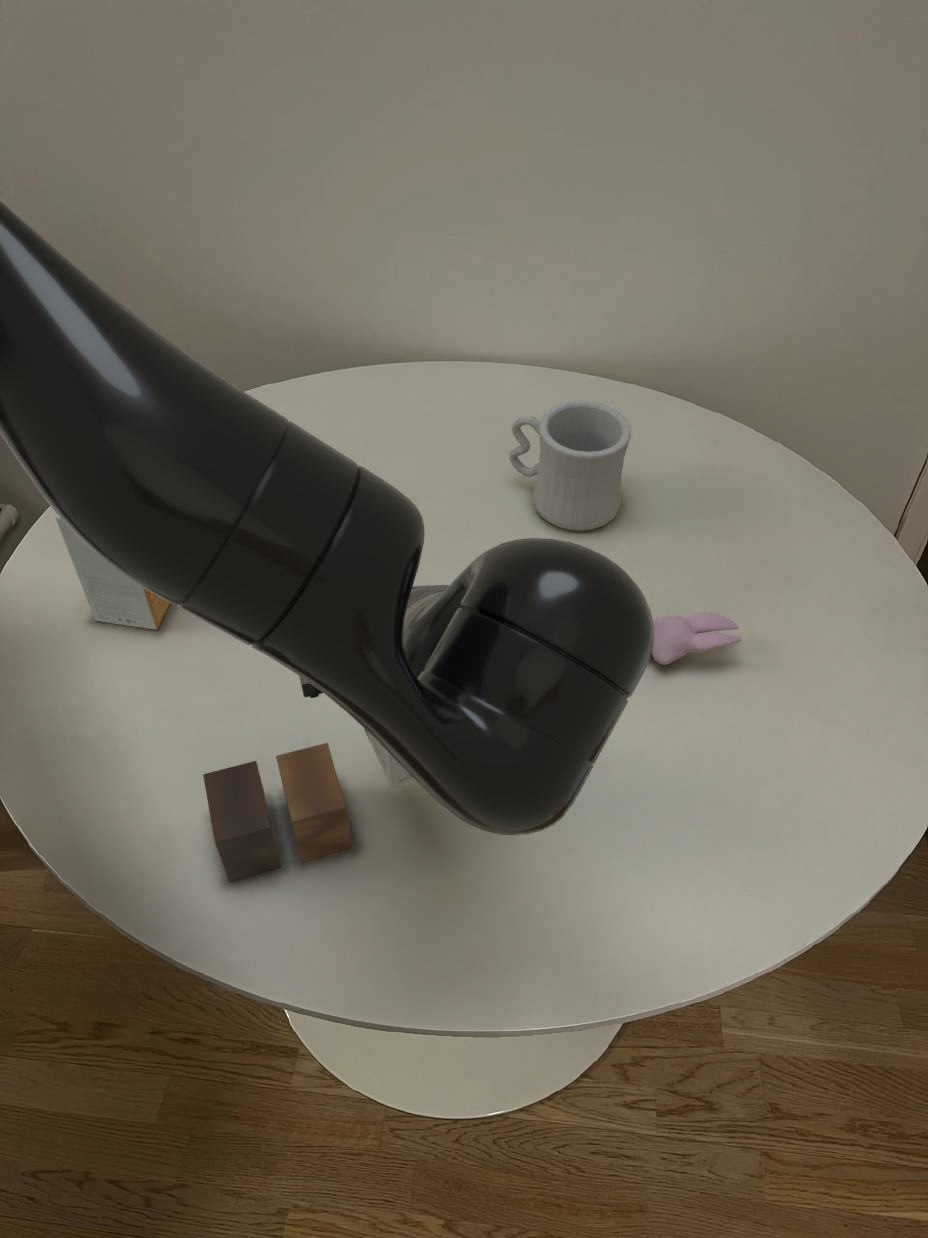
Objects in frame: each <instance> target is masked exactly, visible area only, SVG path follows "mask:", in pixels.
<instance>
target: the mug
mask: <svg viewBox="0 0 928 1238" xmlns="http://www.w3.org/2000/svg"><path fill="white" fill-rule="evenodd" d="M526 425H527V426H530V427H531V428H533V430H534V432H535V433H537V435H539V459H538V462H537V463H535V464H534V466H533V467H528V466H526V465H524V463H523V462H522V461H521V460H520V458H519V457H520V456H523V455H525V454H527V453H528V452H529V451H530V449H531V442H530V441H529V439H528V438H527V436H526V435H525V434H524V432H523V431H522V429H521V427H523V426H526ZM631 430H632V427H631V426H630V423H629V420H628V419H627V418H626V417H625V416H624V414H622V412H620V411H618V410H617V409H615V408H614V407H612V406H610V405H607V404H605V403H601V402H597V401H593V400H572V401H571V400H570V401H565V402H561V403H559V404H557V405H555V406H553V407H551V408H549V410H547V411H546V412H545V413H544V414H543V415H542V417H541V419H540V420H539V419H537V418H536V417H535V416H531V415H523V416H520V417H517V418H516V419H514V420H513V421H512V426H511V432H512V435H513V437H514V438H515V440H516V441H517V443H518V444H519V446H517V447H514V448H512V449H511V450H510V451H509V457H508V459H509V462H510V464H511V465H512V467H513V468H514V469H515V470H516V471H517V472H518V473H519V474H520V475H522V476H525V477H530V478H531V477H534V476H535V480H534V485H533V491H532V502H533V505H534V508H535V510H536V512H537V513H538V514H539V515H540V517H542V518H543V520H546V521H547V522H548V523H550V524H552V525H553V526H555V527H558V528H560V529H564V530H569V531H577V532H582V531H583V532H584V531H590V530H594V529H598V528H601V527H603V526H605V525H606V524H608V523H610V522H611V521H612V520H613V519H614V518H615V517H616V516H617V514H618V512H619V509H620V506H621V504H622V477H623V468H624V460H625V457H626V453H627V450H628V447H629V444H630V440H631V436H632V431H631Z"/></svg>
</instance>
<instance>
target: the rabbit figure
mask: <svg viewBox="0 0 928 1238" xmlns="http://www.w3.org/2000/svg"><path fill="white" fill-rule="evenodd" d="M653 626H654V643H653V648H652V653H651V655H652V658H653V660H654V661H655V662H656V663H657V664H659V665H662V666H667V665H669V664H672V663H674V662H675V661H678V660H679V659H681V658H683V657H684V656H686V655H687V654H690V653H699V652H700V653H701V652H705V651H709V650H713V649H717V648H720V647H724V646H729V645H733V644H738V643H740V642H742V639H743V638H741V637H739V636H736V635H732V634H729V633H724V632H719V631H729V630H738V629H739V628H740V627H739V625H738V624H737V623H735V622H734V621H732V620H731V618H729V617H726V616H724V615H722V614H720V613H716V612H714V613H713V612H697V613H694V614H691V615H689V616H688V617H683V616H677V615H668V616H662V617H657V618H655V619H653Z"/></svg>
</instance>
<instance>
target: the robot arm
mask: <svg viewBox="0 0 928 1238" xmlns="http://www.w3.org/2000/svg"><path fill="white" fill-rule="evenodd" d="M0 436H1V437H2V438H3V440H4V441H5V443H6V445H7V446H8V448H9V449H10V450H11V452H12V454H13V455H14V457H15V458H16V460H17V461H18V463H19V464H20V465H21V467H22V468H23V470H24V471H25V472H26V474H27V476H28V477H29V478H30V480H31V481H32V482H33V484H34V485H35V486H36V488H37V490H38V491H39V493H40V494H41V495H42V497H43V498H44V499H45V501H46V502H47V503H48V504H49V506H50V507H51V509H53V511H54V512H55V514H56V515H57V514H58V515H59V517H60V518H61V519H62V520H63V521H64V522H65V523H66V525H67V526H68V527H69V528H70V529H71V530H72V531H73V532H74V533H75V534H76V535H77V536H78V537H79V538H80V539H81V540H82V541H83V542H84V543H85V544H86V545H87V546H88V547H89V548H90V549H91V550H93V551H94V552H95V553H96V554H97V555H98V556H99V557H100V558H102V559H103V560H104V561H106V562H107V563H108V564H109V565H111V566H112V567H113V568H115V569H116V570H117V571H119V572H120V573H121V574H122V575H124V576H126V577H127V578H129V579H130V580H132V581H133V582H135V583H137V584H138V585H140V586H141V587H143V588H145V589H146V590H148V591H149V592H151V593H153V594H155V595H157V596H159V597H160V598H162V599H164V600H166V601H168V602H170V605H173V606H175V607H178V609H181V610H183V611H184V612H185V613H188V614H189V615H191V616H193V617H195V618H197V619H199V620H201V621H202V622H204V623H206V624H208V625H210V626H211V627H214V628H215V629H217V630H219V631H220V632H223V633H224V634H226V635H228V636H231V638H234V639H236V640H238V641H239V642H241V643H243V644H244V645H247V646H251V647H252V649H254V650H256V651H258V652H259V653H261V654H263V655H265V656H267V657H268V658H270V659H272V660H273V661H275V662H276V663H278V664H280V665H281V666H283V667H285V668H286V669H288V670H289V671H291V672H292V673H294V674H295V675H297V676H298V678H299V682H300V686H301V690H302V695H303V698H310V699H314V698H318V697H320V695H322V694H324V695H325V696H326V697H327V698H329V699H330V700H332V701H333V703H335V704H336V705H338V706H339V707H340V708H341V709H343V710H344V711H345V712H346V713H347V714H348V715H349V716H350V717H352V718H353V719H354V721H356V722H357V723H358V724H359V725H360V726H361V727H362V728H363V727H364V728H365V729H366V730H367V731H368V732H369V733H370V734H371V735H372V736H373V737H374V738H375V739H376V740H377V741H378V742H379V743H380V744H381V745H382V746H383V747H384V748H385V749H386V750H387V751H388V752H389V753H390V754H391V755H392V756H393V757H394V758H395V759H396V760H397V761H398V763H399V764H400V765H401V766H402V767H403V768H404V769H405V770H406V771H407V772H408V773H409V774H410V775H411V776H412V777H413V778H414V779H415V780H414V781H416V782H417V783H418V784H419V786H421V788H422V789H423V790H424V791H425V792H427V793H428V794H429V795H430V796H431V797H432V798H433V799H434V800H435V801H436V802H437V803H438V804H439V805H440V806H442V807H443V808H444V809H445V810H447V811H448V812H449V813H451V814H452V815H453V816H455V817H456V818H457V819H459V820H460V821H462V822H464V823H466V824H468V825H470V826H472V827H474V828H476V829H478V830H481V831H484V832H488V833H491V834H495V835H501V836H522V835H530V834H534V833H538V832H542V831H545V830H547V829H548V828H550V827H553V826H554V825H556V824H557V823H558V822H560V821H561V820H562V819H563V818H564V817H565V815H566V814H567V813H568V812H569V810H570V809H571V807H572V806H573V805H574V803H575V801H576V799H577V798H578V796H579V794H580V793H581V791H582V789H583V787H584V785H585V783H586V782H587V779H588V778H589V776H590V774H591V772H592V770H593V768H594V764H596V762H597V760H598V758H599V756H600V754H601V753H602V751H603V749H604V747H605V745H606V744H607V742H608V740H609V738H610V736H611V734H612V733H613V730H614V729H615V727H616V725H617V723H618V721H619V719H620V718H621V716H622V714H623V712H624V710H625V708H626V707H627V704H628V703H629V701H628V699H629V698H631V697H632V695H633V694H634V692H635V690H636V688H637V686H638V685H639V683H640V681H641V679H642V677H643V675H644V673H645V671H646V669H647V666H648V664H649V661H650V658H651V655H652V648H653V643H654V626H653V621H654V619H653V615H652V611H651V609H650V606H649V603H648V601H647V598H646V596H645V595H644V593H643V591H642V590H641V588H640V586H638V584H637V583H636V582H635V581H634V579H633V578H631V576H630V575H629V574H628V573H627V572H626V571H625V570H624V569H623V568H622V567H621V566H620V565H619V564H617V563H616V562H614V561H613V560H612V559H610V558H608V557H607V556H605V555H603V554H602V553H600V552H598V551H595V550H593V549H592V548H588V547H587V546H583V545H581V544H578V543H574V542H571V541H567V540H566V541H565V540H559V539H555V538H543V537H542V538H541V537H540V538H539V537H530V538H519V539H513V540H510V541H505V542H502V543H499V544H497V545H495V546H493V547H491V548H490V549H487V550H486V551H484V552H482V553H481V554H480V555H479V556H477V557H476V558H475V559H474V560H473V561H472V562H471V563H469V564H468V566H466V567H465V568H464V569H463V571H462V572H461V573H460V574H459V575H458V576H456V578H455V579H454V580H453V581H452V582H451V583H450V584H431V585H429V584H428V585H416V586H414V583H415V580H416V576H417V573H418V570H419V566H420V562H421V558H422V553H423V549H424V544H425V524H424V519H423V516H422V514H421V512H420V510H419V508H418V507H417V505H416V504H415V503H414V502H413V501H412V500H411V499H410V498H409V497H408V496H406V495H405V494H404V493H402V492H401V491H400V490H399V489H398V488H396V487H395V486H393V485H392V484H390V483H389V482H387V481H385V480H384V479H383V478H381V477H380V476H378V475H377V474H375V473H373V472H372V471H370V470H369V469H367V468H366V467H363V466H361V465H358V463H357V462H356V461H354V460H353V459H351V458H349V457H348V456H346V455H345V454H343V453H342V452H340V451H339V450H337V449H336V448H334V447H332V446H331V445H329V444H327V443H326V442H324V441H322V440H321V439H320V438H318V437H316V436H315V435H313V434H312V433H310V432H308V431H307V430H305V429H304V428H303V427H300V426H299V425H297V424H296V423H294V422H293V421H291V420H289V419H287V418H286V417H285V416H283V415H282V414H281V413H278V412H277V411H275V410H274V409H273V408H270V407H269V406H267V405H266V404H265V403H262V402H260V401H259V400H258V399H256V398H255V397H253V396H252V395H250V394H249V393H248V392H247V393H246V392H245V391H244V390H242V389H240V388H239V387H237V386H236V385H234V384H233V383H231V382H230V381H228V380H227V379H226V378H224V377H222V376H221V375H220V374H218V373H217V372H215V371H214V370H212V369H210V368H209V367H207V366H206V365H204V364H203V363H202V362H200V361H199V360H198V359H196V358H194V357H193V356H191V355H190V354H189V353H187V352H186V351H184V350H183V349H182V348H180V347H179V346H178V345H176V344H175V343H173V342H172V341H170V340H169V339H168V338H167V337H165V336H163V334H161V333H159V332H158V331H157V330H155V329H154V328H152V327H151V326H150V325H149V324H147V323H146V322H144V321H143V320H142V319H140V318H139V317H138V316H137V315H136V314H134V313H133V312H132V311H131V310H129V308H127V307H126V306H125V305H123V304H122V303H121V302H120V301H118V300H117V299H116V298H115V297H113V296H112V294H110V293H109V292H107V291H106V290H105V289H104V288H103V287H101V285H99V284H98V283H97V282H96V281H94V280H93V279H92V278H91V277H90V276H88V275H87V274H86V273H85V272H84V271H82V269H80V268H79V267H78V266H76V265H75V264H74V263H73V262H72V261H71V260H69V259H68V258H67V257H66V255H65V256H64V254H63V253H62V252H60V251H59V250H58V249H56V247H54V246H53V245H52V244H51V243H50V242H48V241H47V240H46V239H45V238H44V237H42V235H40V233H38V232H37V231H35V230H34V228H32V227H31V226H30V225H29V224H27V222H25V221H24V220H23V219H22V218H21V217H20V216H18V215H17V214H16V213H15V211H13V210H12V209H11V208H10V207H8V205H6V204H5V203H4V202H3V201H2V200H0ZM364 728H363V729H364Z"/></svg>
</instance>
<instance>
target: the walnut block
mask: <svg viewBox="0 0 928 1238" xmlns="http://www.w3.org/2000/svg"><path fill="white" fill-rule="evenodd" d="M202 777H203V782H204V788H205V794H206V799H207V806H208V812H209V816H210V817H209V818H210V821H211V827H212V833H213V838H214V844H215V847H216V849H217V853H218V855H219V859H220V861H221V864H222V867H223V870H224V872H225V873H224V874H225V875H226V878H227V881H228V883H230V882H235V881H238V880H241V879H245V878H248V877H253V876H256V875H260V874H262V873H267V872H270V871H274V870H278V869H280V868H282V865H281V859H280V854H279V851H278V846H277V842H276V838H275V837H276V836H275V832H274V829H273V824H272V823H273V822H272V819H271V814H270V810H269V806H268V802H267V798H266V793H265V789H264V786H263V782H262V777H261V774H260V770H259V766H258V762H257V761H256V760H254V761H250V762H245V763H242V764H238V765H235V766H230V767H225V768H222V769H218V770H214V771H211V772H207V773H206V772H205V773H203V774H202Z"/></svg>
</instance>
